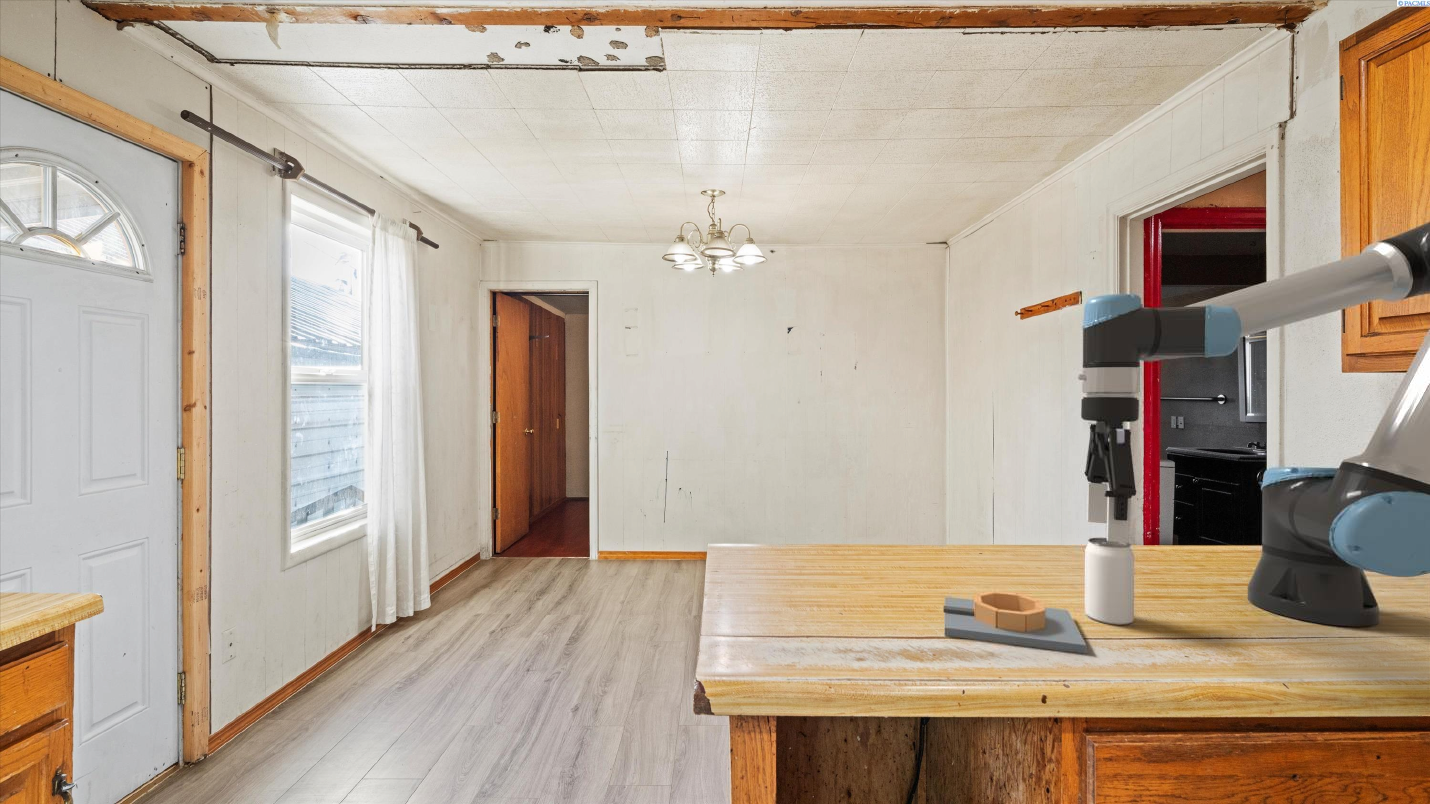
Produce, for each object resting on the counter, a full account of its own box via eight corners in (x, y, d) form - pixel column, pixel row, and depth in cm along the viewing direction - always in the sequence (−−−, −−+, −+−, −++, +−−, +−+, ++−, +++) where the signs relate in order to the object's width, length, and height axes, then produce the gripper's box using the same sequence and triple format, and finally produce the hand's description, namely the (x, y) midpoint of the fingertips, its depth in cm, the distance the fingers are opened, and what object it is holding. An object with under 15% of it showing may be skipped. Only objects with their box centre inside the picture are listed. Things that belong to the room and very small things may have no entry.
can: (1142, 627, 91) (1142, 548, 91) (1094, 624, 93) (1094, 546, 92) (1122, 611, 98) (1122, 537, 97) (1078, 609, 99) (1078, 536, 99)
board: (1067, 617, 95) (1067, 594, 95) (1086, 653, 82) (1086, 626, 82) (943, 603, 102) (943, 581, 102) (943, 635, 89) (943, 610, 89)
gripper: (1067, 394, 107) (1065, 513, 108) (1100, 396, 84) (1097, 548, 85) (1117, 395, 105) (1114, 517, 105) (1165, 397, 81) (1161, 553, 82)
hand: (1106, 531), depth 95 cm, fingers open, 13 cm apart
